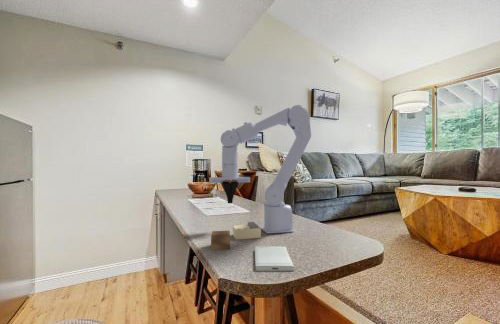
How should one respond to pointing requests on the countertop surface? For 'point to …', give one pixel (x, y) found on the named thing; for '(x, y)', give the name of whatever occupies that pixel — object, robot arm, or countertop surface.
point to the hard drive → (273, 259)
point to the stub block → (220, 240)
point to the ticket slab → (246, 231)
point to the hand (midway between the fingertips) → (229, 203)
